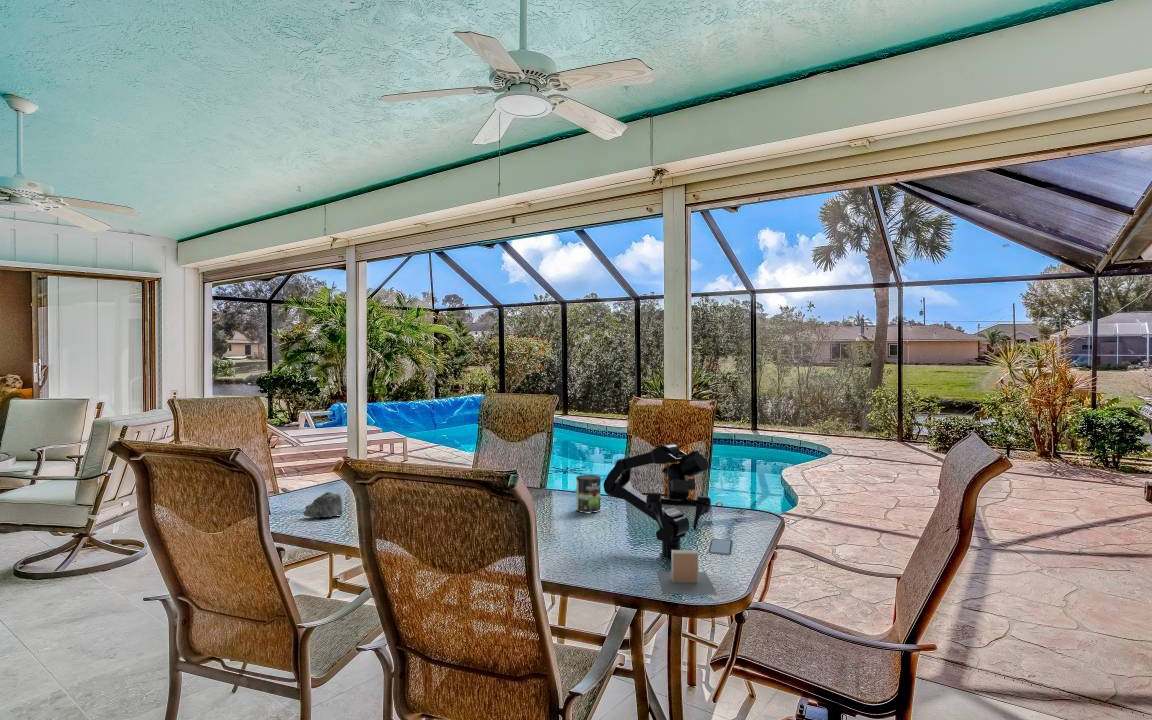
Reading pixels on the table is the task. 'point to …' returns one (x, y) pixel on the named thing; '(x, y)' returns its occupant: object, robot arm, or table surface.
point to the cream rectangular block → (684, 566)
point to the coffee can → (588, 493)
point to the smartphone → (720, 546)
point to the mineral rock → (325, 506)
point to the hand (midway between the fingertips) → (678, 529)
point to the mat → (686, 585)
